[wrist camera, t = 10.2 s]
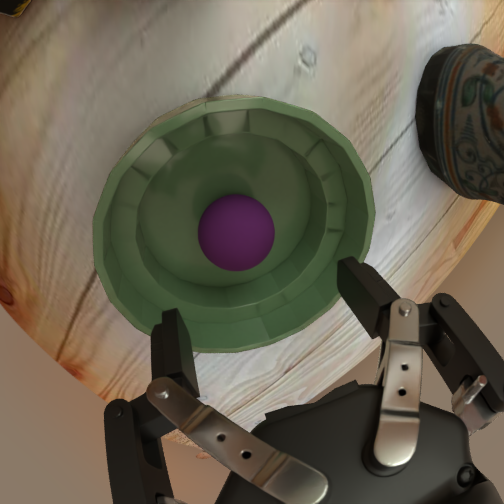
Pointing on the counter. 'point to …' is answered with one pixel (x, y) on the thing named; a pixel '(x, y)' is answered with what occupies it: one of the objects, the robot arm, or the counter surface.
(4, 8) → the medicine bottle
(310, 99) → the counter surface
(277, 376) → the counter surface
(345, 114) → the counter surface
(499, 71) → the beer stein
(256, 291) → the green bowl
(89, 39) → the counter surface
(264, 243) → the ball
